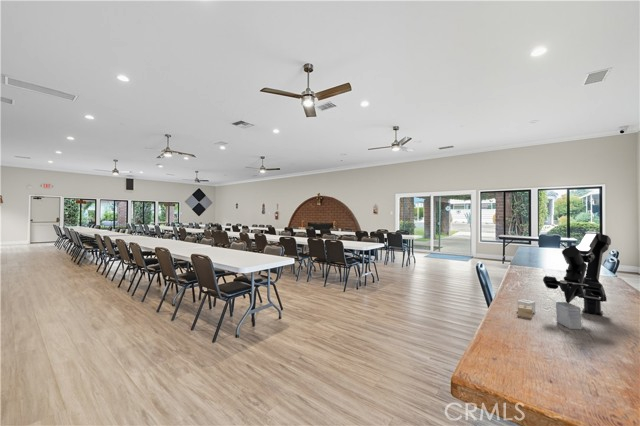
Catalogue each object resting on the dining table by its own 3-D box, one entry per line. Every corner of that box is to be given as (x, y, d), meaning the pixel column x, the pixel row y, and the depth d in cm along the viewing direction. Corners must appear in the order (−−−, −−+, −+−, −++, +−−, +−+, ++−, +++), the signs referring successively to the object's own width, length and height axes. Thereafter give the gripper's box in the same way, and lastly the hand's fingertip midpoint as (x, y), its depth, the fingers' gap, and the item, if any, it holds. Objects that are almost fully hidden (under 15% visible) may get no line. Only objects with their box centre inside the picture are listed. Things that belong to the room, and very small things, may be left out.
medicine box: (582, 329, 109) (581, 307, 109) (568, 329, 110) (568, 307, 110) (568, 322, 117) (567, 302, 117) (556, 322, 118) (555, 301, 118)
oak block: (519, 313, 129) (518, 304, 130) (532, 315, 126) (532, 306, 126) (518, 316, 126) (517, 307, 126) (531, 318, 122) (531, 309, 123)
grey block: (523, 309, 135) (523, 299, 135) (535, 312, 130) (535, 301, 130) (517, 311, 132) (517, 300, 133) (529, 314, 128) (529, 303, 128)
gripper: (610, 288, 115) (603, 320, 109) (554, 280, 131) (545, 307, 124) (604, 271, 111) (597, 303, 105) (547, 265, 127) (537, 292, 120)
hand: (567, 302), depth 114 cm, fingers closed
